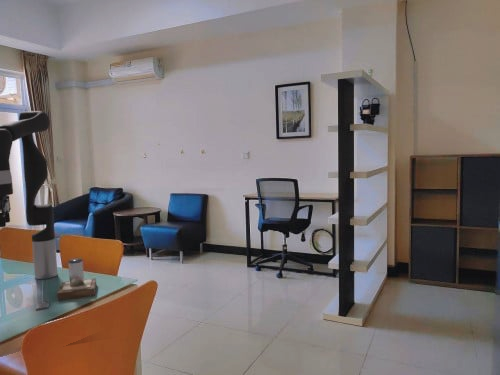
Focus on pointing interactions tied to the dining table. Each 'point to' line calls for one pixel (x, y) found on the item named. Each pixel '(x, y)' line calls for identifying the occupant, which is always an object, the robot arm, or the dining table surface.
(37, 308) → the bracket plate
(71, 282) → the housing
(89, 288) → the stand
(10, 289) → the dining table surface
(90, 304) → the dining table surface
